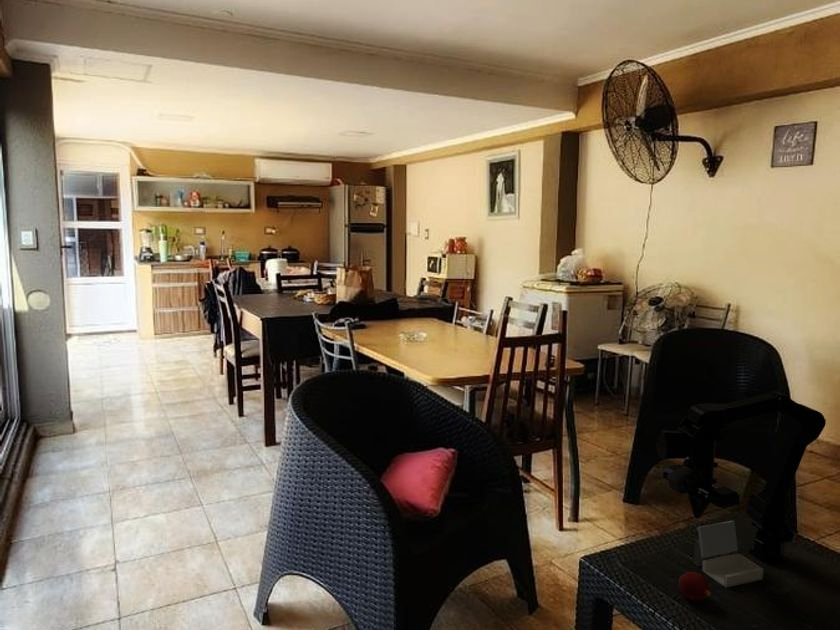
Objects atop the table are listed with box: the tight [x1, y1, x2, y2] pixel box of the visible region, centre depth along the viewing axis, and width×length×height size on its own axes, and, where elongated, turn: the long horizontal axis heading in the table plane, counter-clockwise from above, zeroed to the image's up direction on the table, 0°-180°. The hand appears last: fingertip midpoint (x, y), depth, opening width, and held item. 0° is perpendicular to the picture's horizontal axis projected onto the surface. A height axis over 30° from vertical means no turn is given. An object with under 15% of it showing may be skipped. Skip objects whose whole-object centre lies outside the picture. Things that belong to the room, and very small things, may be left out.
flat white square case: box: [692, 539, 765, 588], centre depth 144 cm, size 11×10×6 cm
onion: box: [678, 571, 712, 602], centre depth 133 cm, size 6×6×8 cm
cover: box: [695, 520, 739, 559], centre depth 147 cm, size 11×7×1 cm
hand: (697, 517), depth 149 cm, fingers closed
